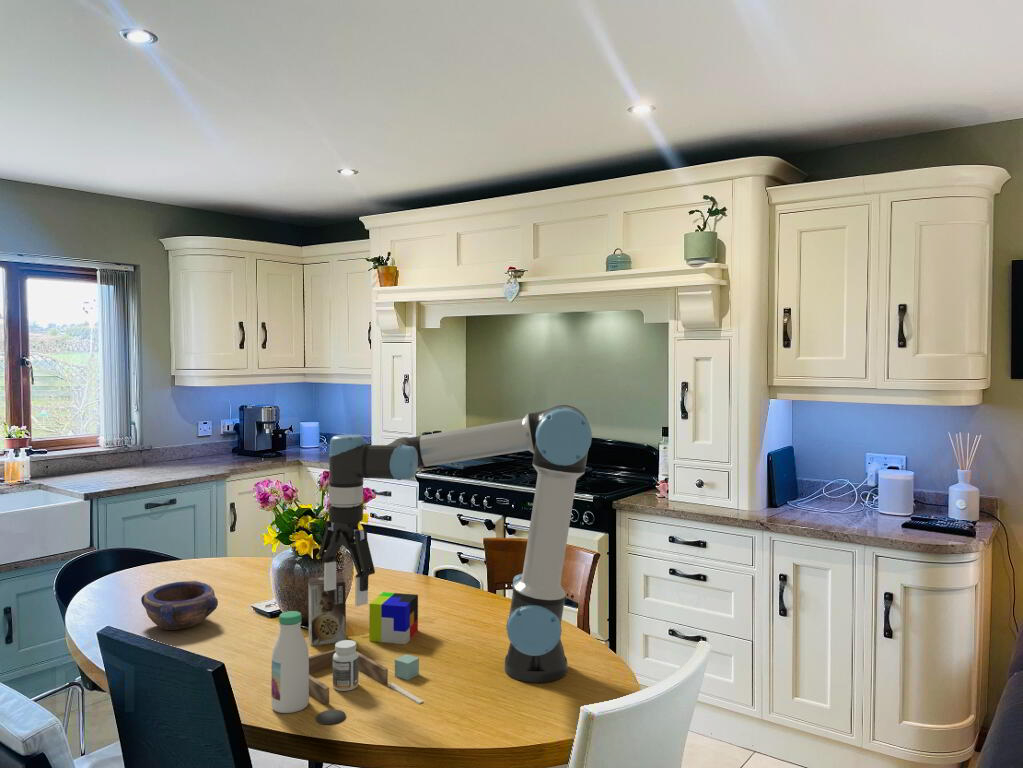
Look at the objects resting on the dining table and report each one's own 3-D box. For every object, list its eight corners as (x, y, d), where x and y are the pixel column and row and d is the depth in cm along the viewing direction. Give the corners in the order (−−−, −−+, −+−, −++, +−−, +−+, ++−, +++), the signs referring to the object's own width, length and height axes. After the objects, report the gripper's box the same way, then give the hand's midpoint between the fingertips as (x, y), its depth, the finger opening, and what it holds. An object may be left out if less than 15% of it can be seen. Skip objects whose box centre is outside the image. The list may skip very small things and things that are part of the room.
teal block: (418, 674, 181) (418, 658, 181) (407, 680, 178) (407, 663, 178) (405, 670, 183) (405, 654, 183) (394, 676, 180) (394, 659, 180)
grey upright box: (342, 633, 207) (342, 574, 206) (346, 642, 201) (346, 581, 200) (307, 637, 203) (307, 577, 203) (310, 646, 197) (310, 584, 197)
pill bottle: (347, 679, 178) (347, 637, 178) (363, 686, 174) (363, 643, 174) (327, 687, 174) (327, 644, 173) (343, 694, 170) (343, 650, 170)
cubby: (387, 683, 176) (387, 668, 176) (325, 704, 165) (325, 688, 165) (346, 659, 189) (346, 645, 189) (286, 678, 178) (286, 663, 178)
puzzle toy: (405, 644, 200) (405, 606, 199) (369, 641, 202) (369, 603, 201) (417, 630, 209) (418, 594, 209) (383, 627, 211) (383, 592, 211)
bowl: (154, 642, 199) (154, 604, 198) (136, 623, 213) (136, 587, 212) (224, 627, 210) (224, 591, 210) (202, 610, 224) (202, 576, 224)
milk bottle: (312, 697, 168) (312, 607, 167) (304, 714, 160) (304, 620, 160) (277, 697, 168) (277, 607, 167) (266, 714, 160) (266, 620, 159)
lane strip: (423, 702, 167) (423, 700, 167) (419, 703, 166) (419, 702, 166) (392, 684, 175) (392, 683, 175) (387, 685, 175) (387, 684, 175)
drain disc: (351, 718, 159) (351, 716, 159) (325, 727, 155) (325, 726, 155) (336, 708, 163) (336, 706, 163) (310, 717, 159) (310, 715, 159)
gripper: (391, 510, 166) (390, 607, 167) (332, 493, 184) (332, 581, 185) (361, 515, 161) (360, 615, 161) (304, 497, 179) (303, 587, 180)
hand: (345, 597), depth 173 cm, fingers open, 13 cm apart
